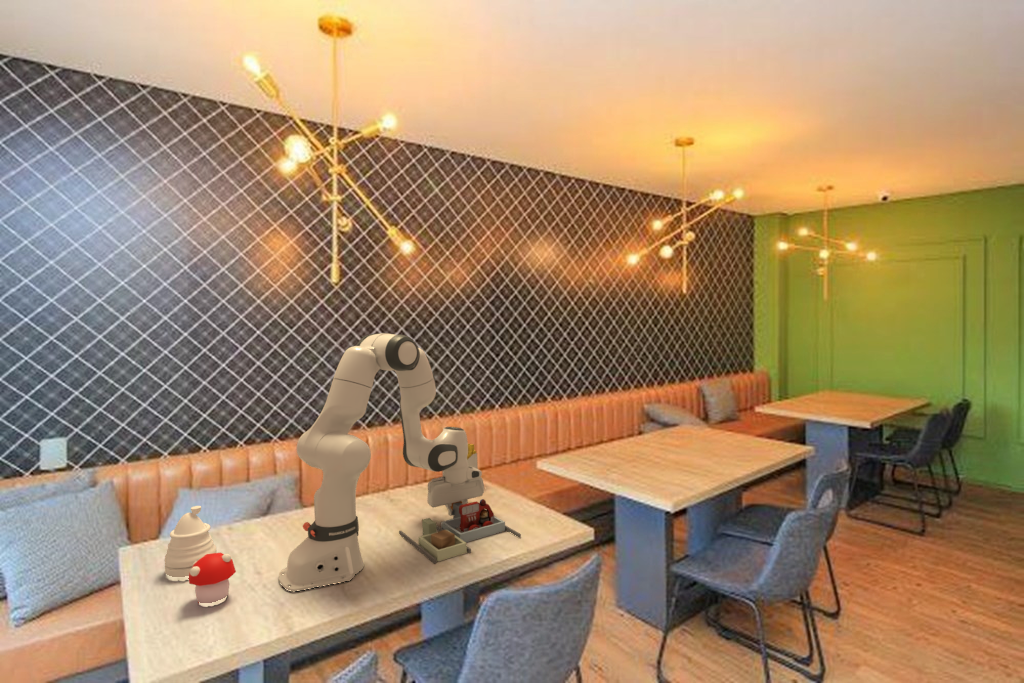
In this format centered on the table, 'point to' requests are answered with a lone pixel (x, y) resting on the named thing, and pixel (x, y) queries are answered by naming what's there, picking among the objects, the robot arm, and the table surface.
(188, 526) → the honey pot
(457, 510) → the grey open rectangular tray
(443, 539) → the walnut cube
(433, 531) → the cube lane
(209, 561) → the mushroom
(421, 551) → the lane rails
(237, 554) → the table surface
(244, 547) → the table surface
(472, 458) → the french fries container
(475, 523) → the toy fire truck
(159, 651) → the table surface
